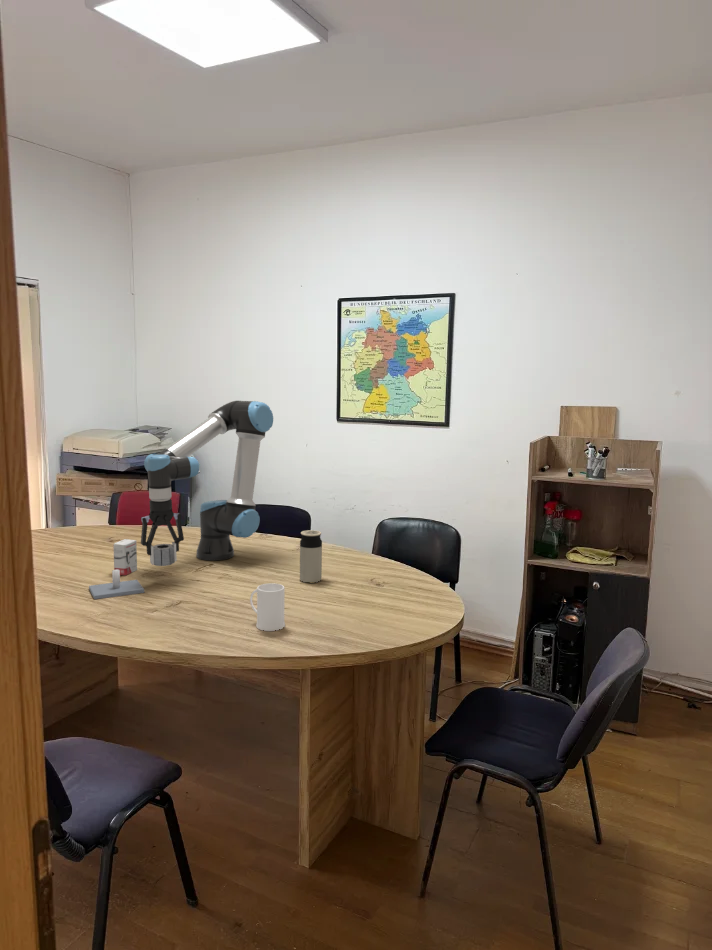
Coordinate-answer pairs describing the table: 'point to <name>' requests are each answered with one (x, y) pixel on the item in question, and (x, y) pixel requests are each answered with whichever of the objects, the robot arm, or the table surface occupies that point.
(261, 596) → the mug
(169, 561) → the cylinder
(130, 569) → the ink box
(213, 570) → the table surface
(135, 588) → the shaft stand
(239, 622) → the table surface
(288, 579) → the table surface
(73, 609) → the table surface
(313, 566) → the travel mug
